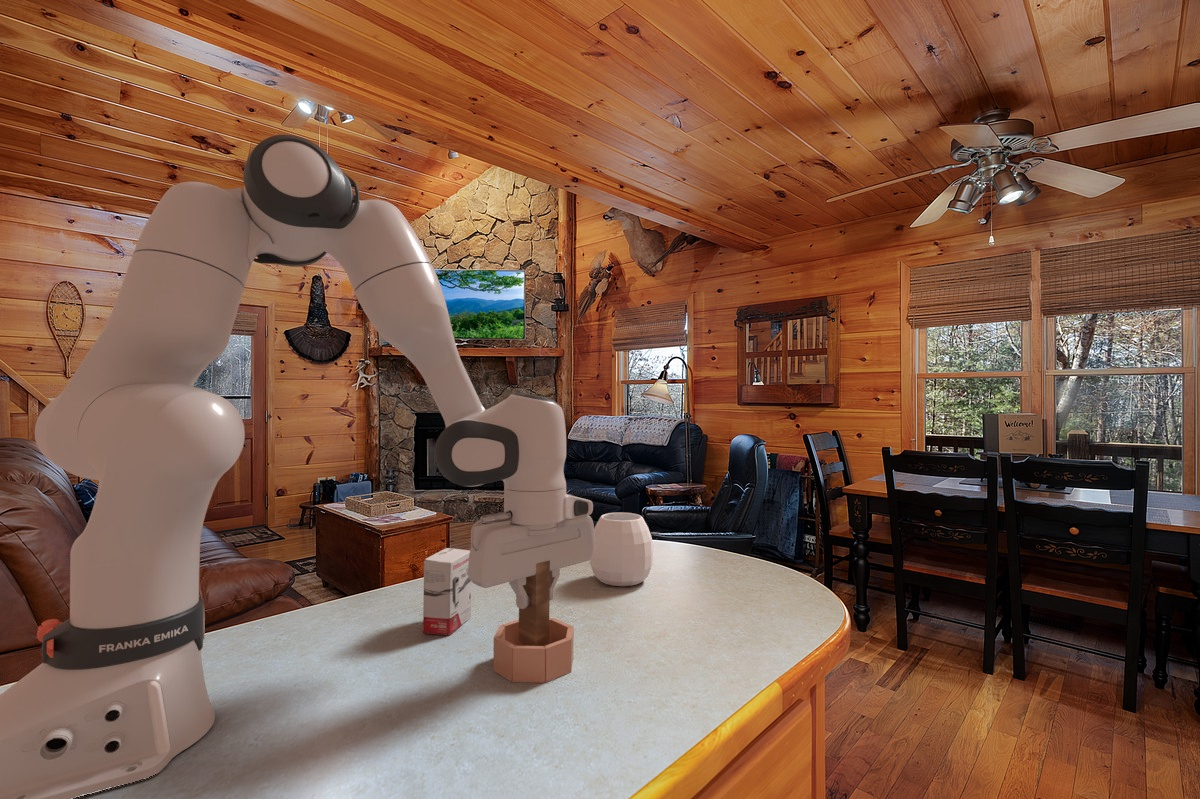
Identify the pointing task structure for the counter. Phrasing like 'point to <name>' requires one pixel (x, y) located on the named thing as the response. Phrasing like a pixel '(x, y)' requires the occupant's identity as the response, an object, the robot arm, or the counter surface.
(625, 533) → the cup
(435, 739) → the counter surface
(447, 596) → the ink box
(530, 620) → the tall wooden block
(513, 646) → the octagonal terracotta tray
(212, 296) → the robot arm
